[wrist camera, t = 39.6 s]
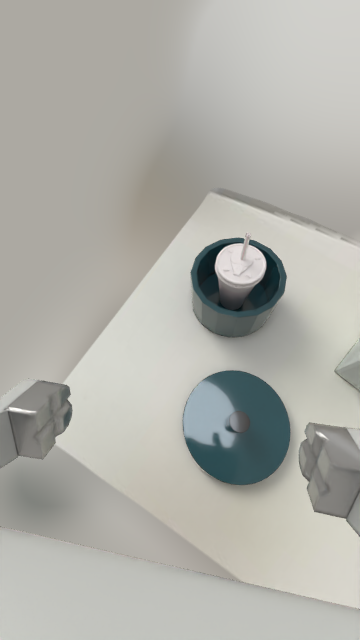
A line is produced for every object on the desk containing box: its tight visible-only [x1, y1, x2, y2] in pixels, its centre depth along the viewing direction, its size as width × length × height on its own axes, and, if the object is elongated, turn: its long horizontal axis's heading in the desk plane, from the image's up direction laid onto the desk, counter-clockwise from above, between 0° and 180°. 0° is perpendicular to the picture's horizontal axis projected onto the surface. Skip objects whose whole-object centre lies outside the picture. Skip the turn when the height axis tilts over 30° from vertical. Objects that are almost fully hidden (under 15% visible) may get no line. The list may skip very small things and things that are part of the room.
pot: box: [191, 238, 287, 337], centre depth 38 cm, size 13×13×8 cm
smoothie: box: [215, 233, 266, 310], centre depth 34 cm, size 6×6×14 cm
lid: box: [183, 370, 290, 485], centre depth 32 cm, size 14×14×5 cm
